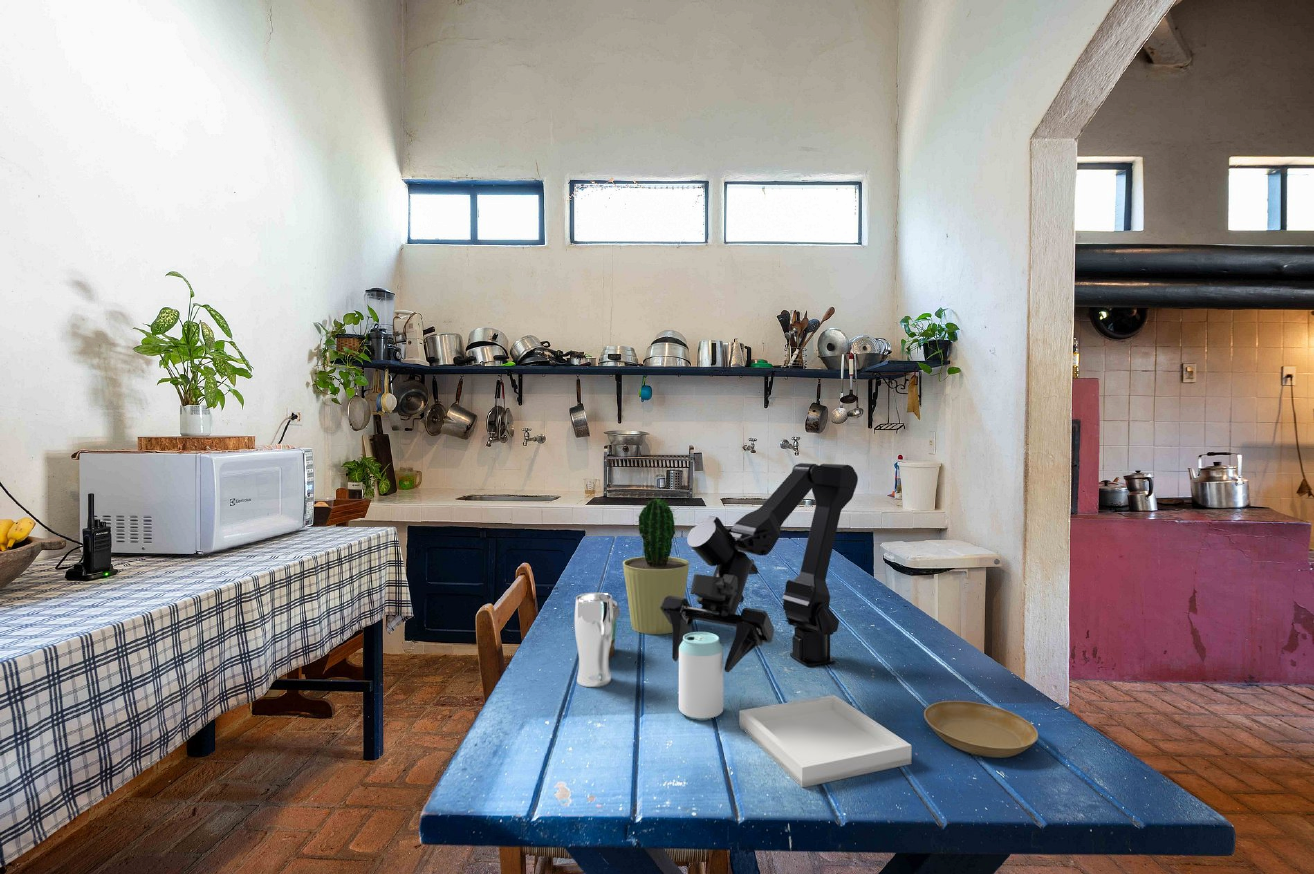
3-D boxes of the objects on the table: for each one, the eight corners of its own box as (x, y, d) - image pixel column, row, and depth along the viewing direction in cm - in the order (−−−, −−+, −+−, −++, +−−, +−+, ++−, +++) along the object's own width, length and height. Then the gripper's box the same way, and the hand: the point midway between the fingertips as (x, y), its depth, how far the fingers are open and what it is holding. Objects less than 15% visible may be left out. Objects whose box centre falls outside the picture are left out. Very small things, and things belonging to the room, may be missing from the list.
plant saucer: (1026, 779, 80) (1026, 759, 80) (909, 742, 89) (909, 724, 89) (1046, 737, 91) (1046, 719, 91) (940, 708, 101) (940, 692, 101)
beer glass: (620, 676, 112) (620, 594, 112) (600, 691, 106) (601, 604, 106) (587, 670, 115) (587, 590, 115) (566, 684, 109) (567, 599, 109)
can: (691, 726, 94) (692, 647, 94) (671, 707, 100) (671, 633, 100) (731, 717, 97) (731, 640, 96) (708, 699, 103) (709, 627, 103)
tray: (834, 710, 99) (834, 694, 99) (911, 763, 83) (911, 745, 83) (739, 727, 93) (739, 710, 93) (802, 787, 77) (802, 767, 77)
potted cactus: (655, 612, 153) (655, 491, 153) (703, 626, 142) (703, 496, 142) (608, 626, 142) (608, 496, 142) (656, 642, 131) (656, 501, 131)
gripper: (665, 548, 107) (630, 629, 98) (768, 560, 98) (740, 650, 88) (686, 585, 114) (655, 663, 105) (784, 599, 105) (760, 686, 95)
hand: (699, 665), depth 98 cm, fingers open, 9 cm apart
